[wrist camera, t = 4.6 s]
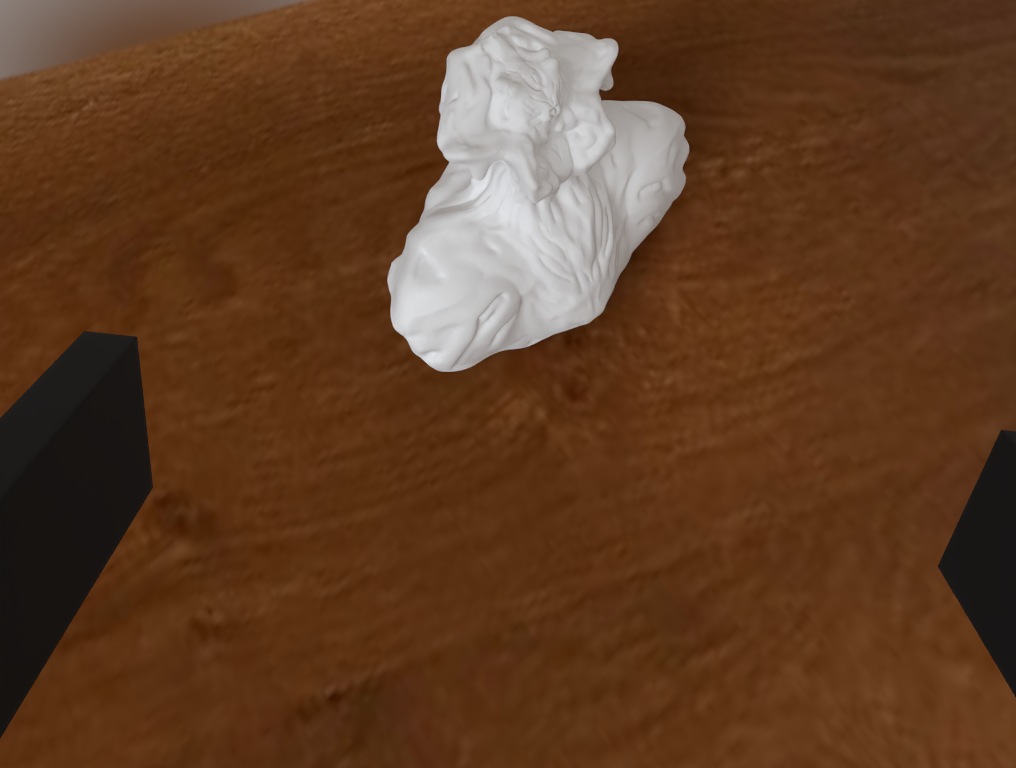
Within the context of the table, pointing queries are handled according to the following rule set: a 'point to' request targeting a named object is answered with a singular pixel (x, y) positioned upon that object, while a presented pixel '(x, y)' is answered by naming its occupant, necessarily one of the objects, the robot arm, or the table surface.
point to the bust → (530, 195)
